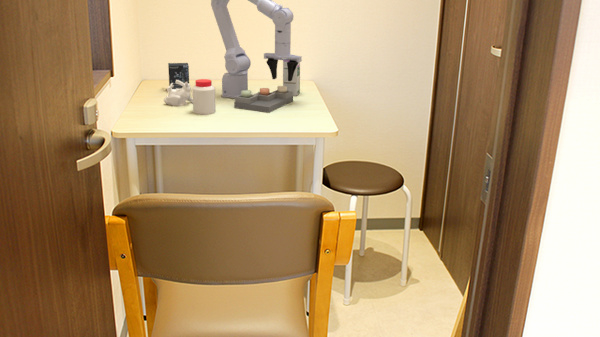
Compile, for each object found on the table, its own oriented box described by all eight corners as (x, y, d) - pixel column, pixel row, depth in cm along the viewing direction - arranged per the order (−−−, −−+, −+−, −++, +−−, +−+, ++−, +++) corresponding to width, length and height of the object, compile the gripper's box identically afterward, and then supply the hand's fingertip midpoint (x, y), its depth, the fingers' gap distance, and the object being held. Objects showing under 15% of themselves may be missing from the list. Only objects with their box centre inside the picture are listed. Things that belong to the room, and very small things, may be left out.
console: (234, 107, 216) (234, 97, 215) (260, 96, 234) (260, 86, 232) (269, 112, 211) (269, 101, 210) (293, 100, 228) (293, 90, 227)
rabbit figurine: (197, 102, 224) (196, 76, 220) (198, 107, 217) (196, 80, 213) (164, 103, 221) (162, 77, 218) (163, 108, 215) (162, 81, 211)
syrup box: (297, 96, 236) (297, 59, 231) (282, 95, 237) (282, 58, 232) (299, 93, 241) (300, 56, 236) (285, 92, 242) (286, 55, 237)
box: (169, 92, 238) (168, 65, 234) (169, 89, 243) (167, 62, 239) (189, 91, 240) (188, 65, 236) (189, 88, 245) (188, 62, 241)
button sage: (239, 97, 216) (239, 91, 215) (244, 95, 219) (244, 89, 219) (248, 98, 215) (248, 92, 214) (253, 96, 218) (253, 90, 217)
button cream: (275, 92, 224) (275, 87, 224) (279, 90, 227) (279, 85, 227) (284, 93, 223) (284, 88, 222) (288, 91, 226) (288, 86, 225)
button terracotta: (257, 94, 220) (257, 89, 220) (262, 92, 223) (262, 87, 223) (266, 95, 219) (266, 90, 218) (271, 93, 222) (271, 88, 221)
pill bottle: (197, 115, 205) (196, 83, 202) (190, 110, 212) (189, 79, 208) (218, 113, 209) (218, 82, 205) (211, 108, 215) (210, 77, 212)
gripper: (259, 42, 218) (259, 79, 223) (296, 45, 213) (295, 83, 217) (268, 40, 224) (268, 76, 229) (304, 43, 219) (303, 80, 223)
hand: (282, 79), depth 224 cm, fingers open, 6 cm apart
